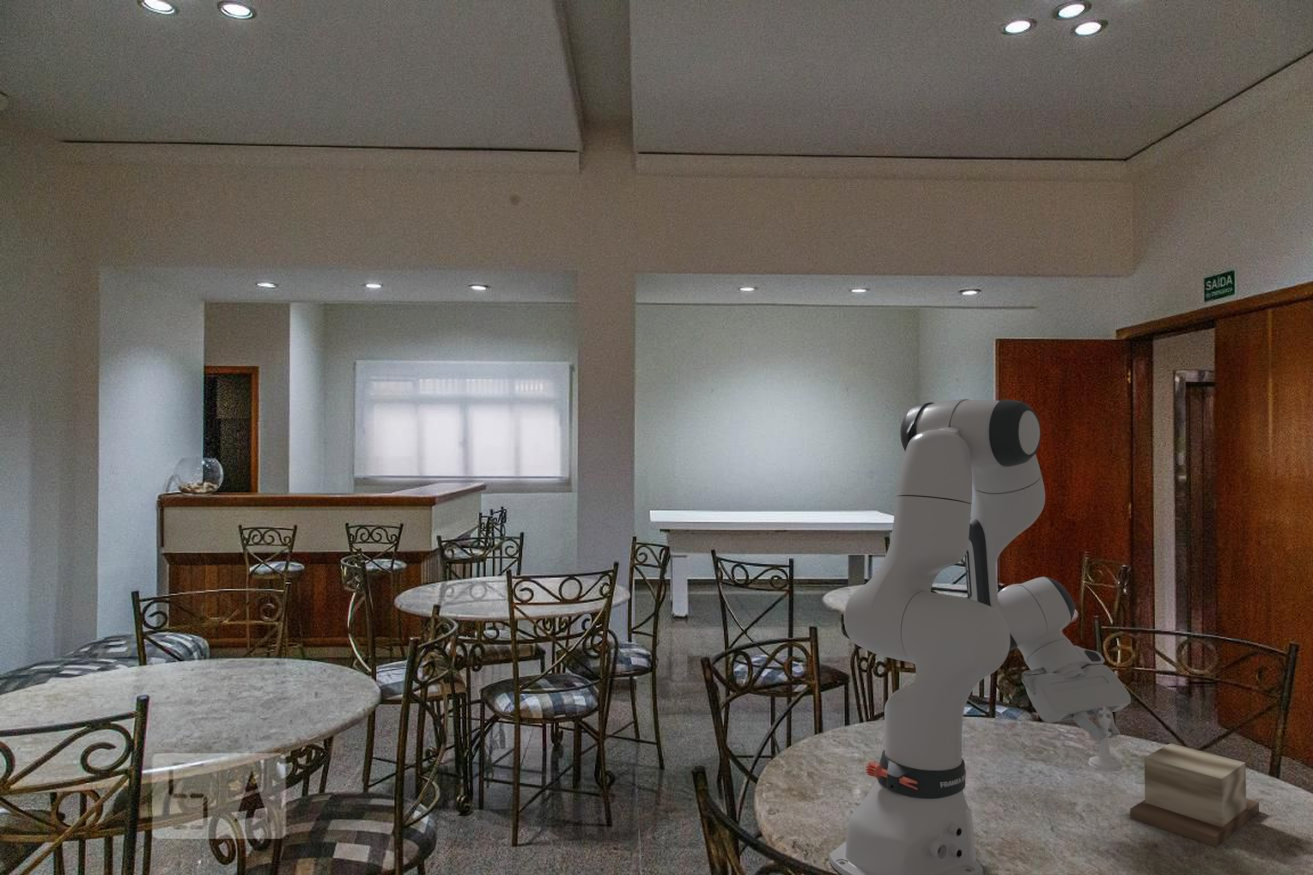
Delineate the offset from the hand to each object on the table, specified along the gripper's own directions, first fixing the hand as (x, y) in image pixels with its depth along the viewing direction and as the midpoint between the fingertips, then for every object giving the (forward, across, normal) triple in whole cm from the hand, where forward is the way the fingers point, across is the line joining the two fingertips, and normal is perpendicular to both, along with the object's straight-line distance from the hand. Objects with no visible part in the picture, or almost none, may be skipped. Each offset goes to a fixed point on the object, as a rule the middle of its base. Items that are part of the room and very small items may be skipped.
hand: (1108, 737), depth 134 cm
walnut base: (+14, +10, +2) cm, 17 cm away
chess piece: (+3, 0, +4) cm, 5 cm away
